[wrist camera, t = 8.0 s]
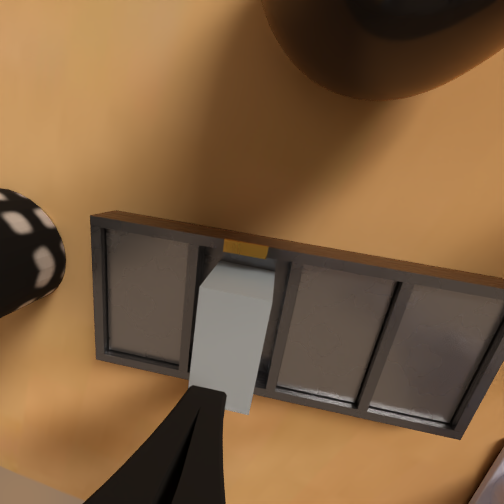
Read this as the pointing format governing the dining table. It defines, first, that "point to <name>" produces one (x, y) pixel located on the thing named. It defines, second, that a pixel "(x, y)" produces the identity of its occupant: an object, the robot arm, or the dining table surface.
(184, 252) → the rack
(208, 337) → the grey rectangular block
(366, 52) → the dark egg shaped ornament
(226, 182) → the dining table surface
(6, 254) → the spotted tube
